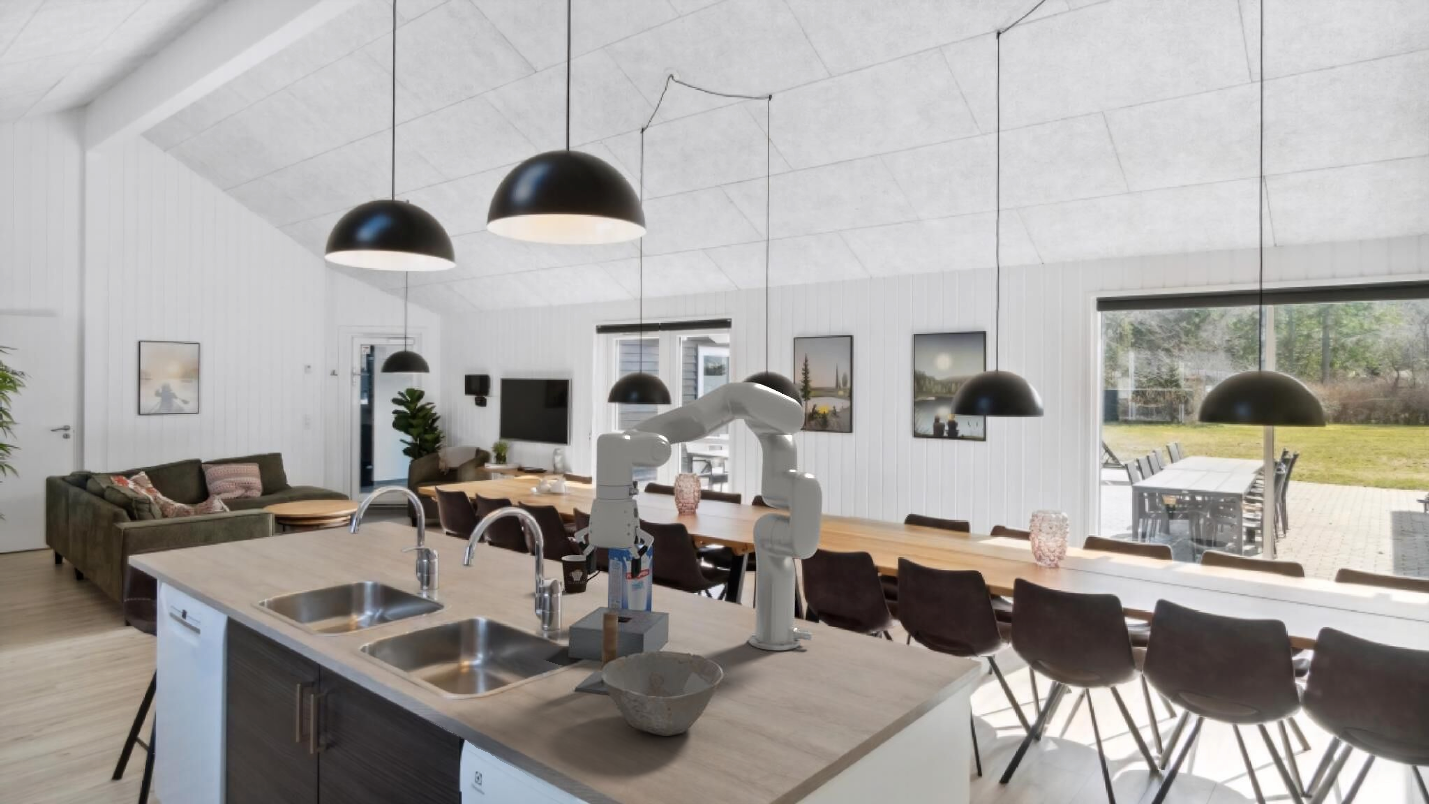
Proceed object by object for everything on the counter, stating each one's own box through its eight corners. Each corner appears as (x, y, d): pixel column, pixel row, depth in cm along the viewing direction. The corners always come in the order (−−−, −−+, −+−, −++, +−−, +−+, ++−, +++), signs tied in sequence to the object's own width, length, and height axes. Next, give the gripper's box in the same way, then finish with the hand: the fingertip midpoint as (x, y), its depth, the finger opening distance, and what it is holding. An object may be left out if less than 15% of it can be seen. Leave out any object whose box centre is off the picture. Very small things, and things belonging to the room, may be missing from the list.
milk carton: (636, 615, 212) (637, 542, 212) (651, 620, 208) (652, 545, 208) (607, 622, 205) (608, 546, 205) (622, 627, 201) (623, 550, 201)
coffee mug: (556, 593, 235) (557, 560, 235) (566, 586, 243) (567, 554, 243) (593, 595, 233) (594, 562, 233) (602, 588, 242) (603, 556, 242)
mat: (639, 678, 165) (639, 676, 165) (621, 696, 155) (621, 693, 155) (595, 673, 167) (595, 671, 167) (575, 690, 157) (575, 687, 157)
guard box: (668, 641, 190) (668, 612, 190) (643, 665, 173) (643, 634, 173) (599, 634, 195) (600, 606, 195) (568, 657, 177) (569, 626, 177)
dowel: (618, 680, 162) (620, 612, 162) (612, 684, 159) (614, 616, 159) (604, 678, 163) (606, 611, 163) (598, 683, 160) (601, 614, 160)
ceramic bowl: (620, 764, 126) (622, 702, 126) (585, 710, 147) (586, 658, 147) (744, 742, 135) (745, 685, 135) (694, 695, 156) (695, 645, 156)
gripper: (659, 492, 163) (658, 574, 164) (583, 489, 168) (582, 568, 168) (647, 497, 156) (646, 582, 156) (568, 493, 160) (567, 576, 161)
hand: (613, 575), depth 162 cm, fingers open, 9 cm apart
